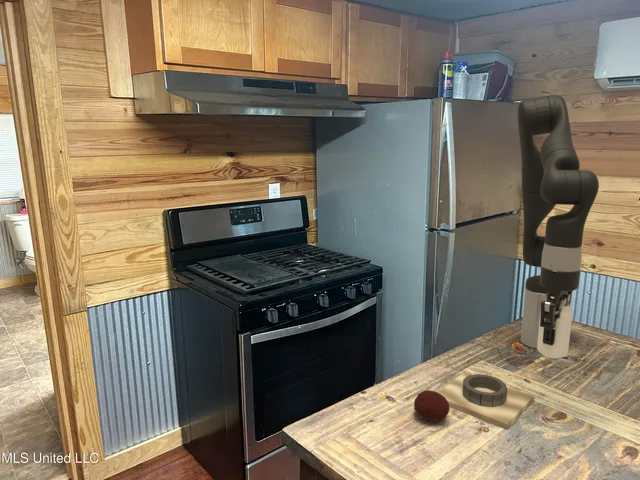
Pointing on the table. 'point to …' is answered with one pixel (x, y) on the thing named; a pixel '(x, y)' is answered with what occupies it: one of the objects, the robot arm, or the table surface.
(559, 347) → the beverage can
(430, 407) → the potato
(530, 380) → the table surface
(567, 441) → the table surface
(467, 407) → the ring board
